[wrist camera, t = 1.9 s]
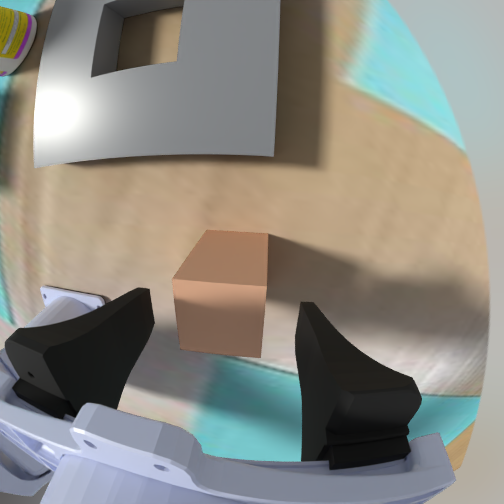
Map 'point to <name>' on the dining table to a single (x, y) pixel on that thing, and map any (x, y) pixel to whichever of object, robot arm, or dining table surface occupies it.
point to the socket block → (157, 83)
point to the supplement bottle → (15, 38)
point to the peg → (223, 294)
